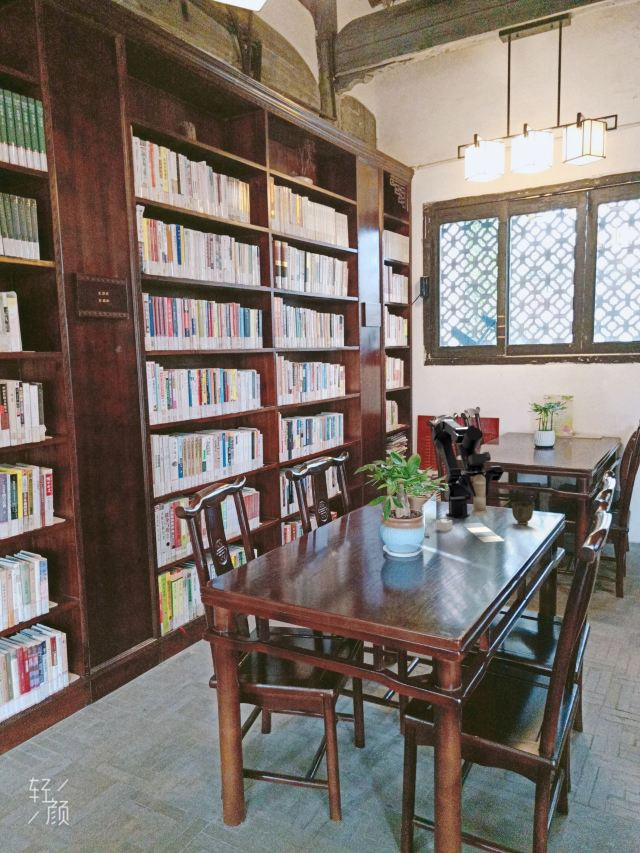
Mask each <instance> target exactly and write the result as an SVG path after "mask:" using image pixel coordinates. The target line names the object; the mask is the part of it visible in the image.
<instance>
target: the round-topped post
mask: <svg viewBox="0 0 640 853" xmlns="http://www.w3.org/2000/svg"><path fill="white" fill-rule="evenodd" d="M472 478H473V479H472V485H473V488H474V491H475V497H473V496H472V497H473V498H472V499H473V501H472V502H473V505H472V506H473V507H472V509H471V515H473V516H478V517H483V516H487V515H488V509H487V505H486V504H487V500H486V499H487V498H486V497H487V496H486V479H485V477H484V476H483V475H480V474H479V475H476V476H475V477H472Z"/></svg>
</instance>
